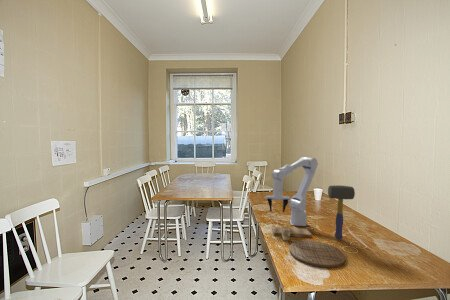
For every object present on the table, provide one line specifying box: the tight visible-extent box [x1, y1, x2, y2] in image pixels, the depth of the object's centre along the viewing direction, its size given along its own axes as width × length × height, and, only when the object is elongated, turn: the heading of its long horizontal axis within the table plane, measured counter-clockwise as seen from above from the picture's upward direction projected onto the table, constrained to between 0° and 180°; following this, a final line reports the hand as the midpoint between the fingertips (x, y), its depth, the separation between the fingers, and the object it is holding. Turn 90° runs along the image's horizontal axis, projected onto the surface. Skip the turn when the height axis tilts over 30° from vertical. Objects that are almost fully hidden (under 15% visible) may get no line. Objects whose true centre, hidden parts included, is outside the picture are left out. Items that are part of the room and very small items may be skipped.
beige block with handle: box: [281, 225, 291, 241], centre depth 139 cm, size 4×14×6 cm, turn 176°
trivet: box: [289, 239, 347, 269], centre depth 118 cm, size 25×25×2 cm
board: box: [271, 226, 313, 238], centre depth 143 cm, size 21×9×2 cm, turn 86°
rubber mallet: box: [327, 184, 356, 241], centre depth 136 cm, size 12×8×30 cm, turn 82°
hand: (277, 211), depth 152 cm, fingers open, 7 cm apart
